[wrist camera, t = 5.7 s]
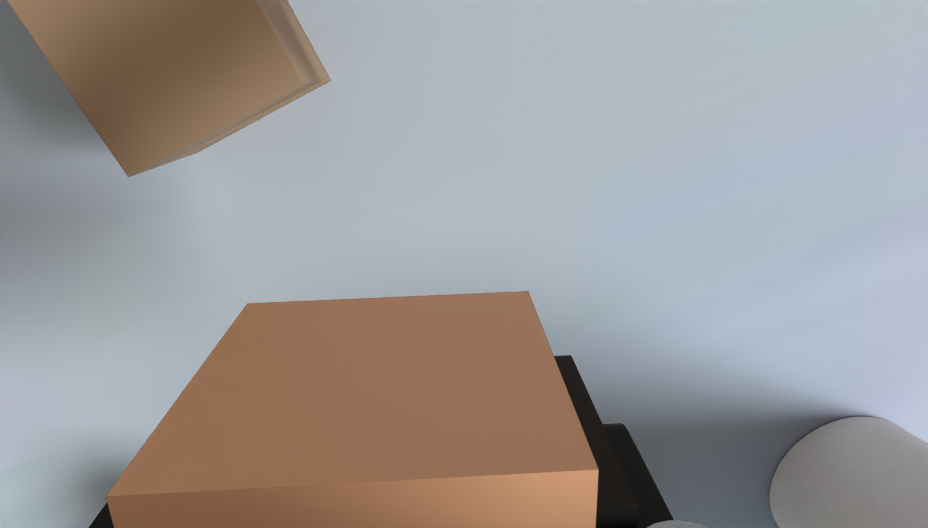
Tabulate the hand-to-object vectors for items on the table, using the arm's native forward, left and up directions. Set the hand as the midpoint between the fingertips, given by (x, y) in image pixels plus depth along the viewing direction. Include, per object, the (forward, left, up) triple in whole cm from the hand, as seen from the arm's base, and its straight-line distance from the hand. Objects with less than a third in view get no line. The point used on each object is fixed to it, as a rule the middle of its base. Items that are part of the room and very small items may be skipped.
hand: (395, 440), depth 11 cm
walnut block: (-7, -5, -11) cm, 14 cm away
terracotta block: (0, 0, -1) cm, 1 cm away
